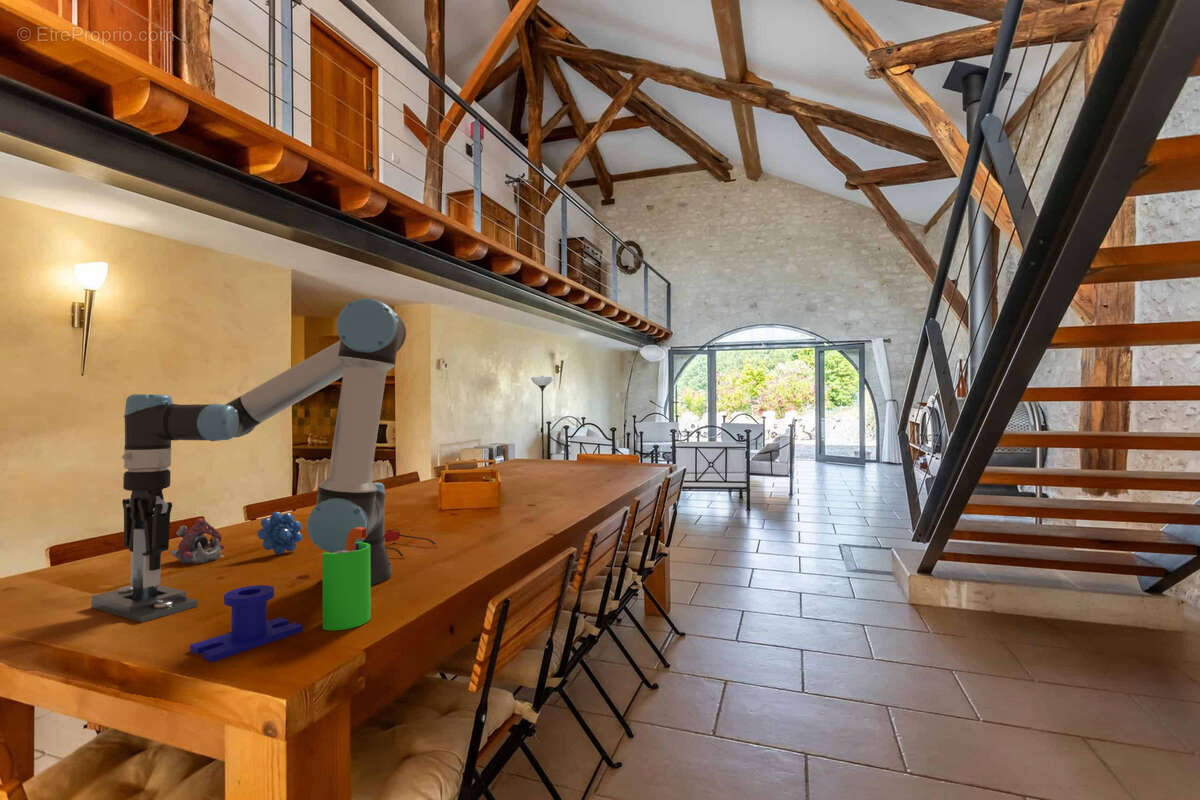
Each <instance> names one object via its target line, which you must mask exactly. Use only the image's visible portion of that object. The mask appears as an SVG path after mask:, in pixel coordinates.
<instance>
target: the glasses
mask: <svg viewBox="0 0 1200 800" xmlns="http://www.w3.org/2000/svg"><path fill="white" fill-rule="evenodd" d="M395 530H396V531H395ZM400 537H404V538H409V539H410V538H411V539H420V540H425V541H426V540H427V541H429V542H430V543H432V545H434V544H436V542H435V541H433V540H431V539H429V538H424V537H420V536H418V537H417V536H412V535H411V536H410V535H404V534H401V533H400V530H399V529H398V528H392V529H387V530H384V541H385V542H386V543H389V542H391V541H395V540H397V541H398V540H399V539H400ZM385 548H386V550H387V549H388V550H392V551H393V550H394V551H396V552H397V554H399V555H400V556H404V555H403V553H402V552H401V551H400V550H399V549H397V548H394V547H388V546H385Z"/></svg>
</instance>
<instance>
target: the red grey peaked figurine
mask: <svg viewBox="0 0 1200 800" xmlns="http://www.w3.org/2000/svg"><path fill="white" fill-rule="evenodd" d="M205 528H206V529H205ZM195 530H196V531H195ZM175 533H176V535H177V536H179V538H180V537H181V540H180V541H179V543H178V545H177V547H178V549H172V550H170V551H169V553H170V554H171V555H172V556H173V557H174V558H176V559H177V560H178V561H179V562H180V563H181V564H184V563H187V564H193V563H195V565H199V564H198V563H202V564H205V562H206V563H210V562H214V561H218V559H219V557H222V558H224V555H221V554H222V550H224V549H225V547H226V546H225V544H221V542H222V534H221V533H220V532H219V530H217V529H216V528H215V527H214V526H212V525H211V524H210V523H209V522H207V521H206V519H204V518H198V519H197V521H195V523H194V524H193V525H192V527H191V528H190V529H189V530H188V527H187V526H185V525H180V526H179V529H178V530H177V531H176V532H175ZM205 534H206V535H205ZM207 535H210V536H211V538H210V539H209V540H208V537H207ZM213 560H214V561H213ZM209 561H210V562H209Z"/></svg>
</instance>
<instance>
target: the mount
mask: <svg viewBox="0 0 1200 800" xmlns="http://www.w3.org/2000/svg"><path fill="white" fill-rule="evenodd" d="M274 597H275V588H274V587H273V586H271V585H266V584H265V585H264V584H259V585H257V584H256V585H249V586H243V587H237V588H234V589H232V590H229V591H227V592H225V593H224V594H223V605H224V606H226V607H231V608H230V609H231V610H230V611H231V612H230V614H231V616H230V618H231V620H230V632H228V633H224V634H221V635H218V636H215V637H211V638H209V639H208V638H207V639H205V640H201V641H198V642H195V643H191V644H189V652H190V651H191V653H192V652H194V653H195V654H194V653H193V654H194V655H196V654H197V656H199V655H198V654H200V655H202V654H201V653H203V655H202V656H203V657H202V658H203V659H204V660H205V661H208V662H209V663H213V662H216V661H219V660H222V659H225V658H229V657H231V656H234V655H237V654H241V653H242V652H247V651H248V650H251V649H254V648H257V647H260V646H263V645H266V644H271V643H272V642H276V641H278V640H281V639H284V638H287V637H289V636H292V635H296V634H299V633H301V632H303V629H304V627H303V626H304V625H303V624H300V623H297V622H291V623H289V619H286V618H284V617H281V616H278V617H277V618H274V619H270V620H267V610H268V609H267V608H268V607H267V605H268V604H267V602H268V601H270V600H272V599H273V598H274Z"/></svg>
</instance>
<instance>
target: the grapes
mask: <svg viewBox="0 0 1200 800" xmlns="http://www.w3.org/2000/svg"><path fill="white" fill-rule="evenodd" d="M260 526H261V527H262V528H260V529H259V530H258V531H257V535H256V536H258V538H259V540H263V541H262V543H261V545H262V547H263V549H265V550H266V551H270V550H273V552H274V553H275V554H276V555H282V554H284V553H285V552H286V551H287V552H293V551H295V550H296V548H297V544H296V543H300V542H301V541H302V540H303V538H304V537H303V534H302V533H301V532H300V531H302V528H303V526H302V523H301V522H300V521H298V520H295V517H294V515H293V514H292V513H290V512H286V513H284V514H282V513H281V512H279V511H274V512H272V513H271V514H270V517H264V518H262V519H261V521H260Z"/></svg>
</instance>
